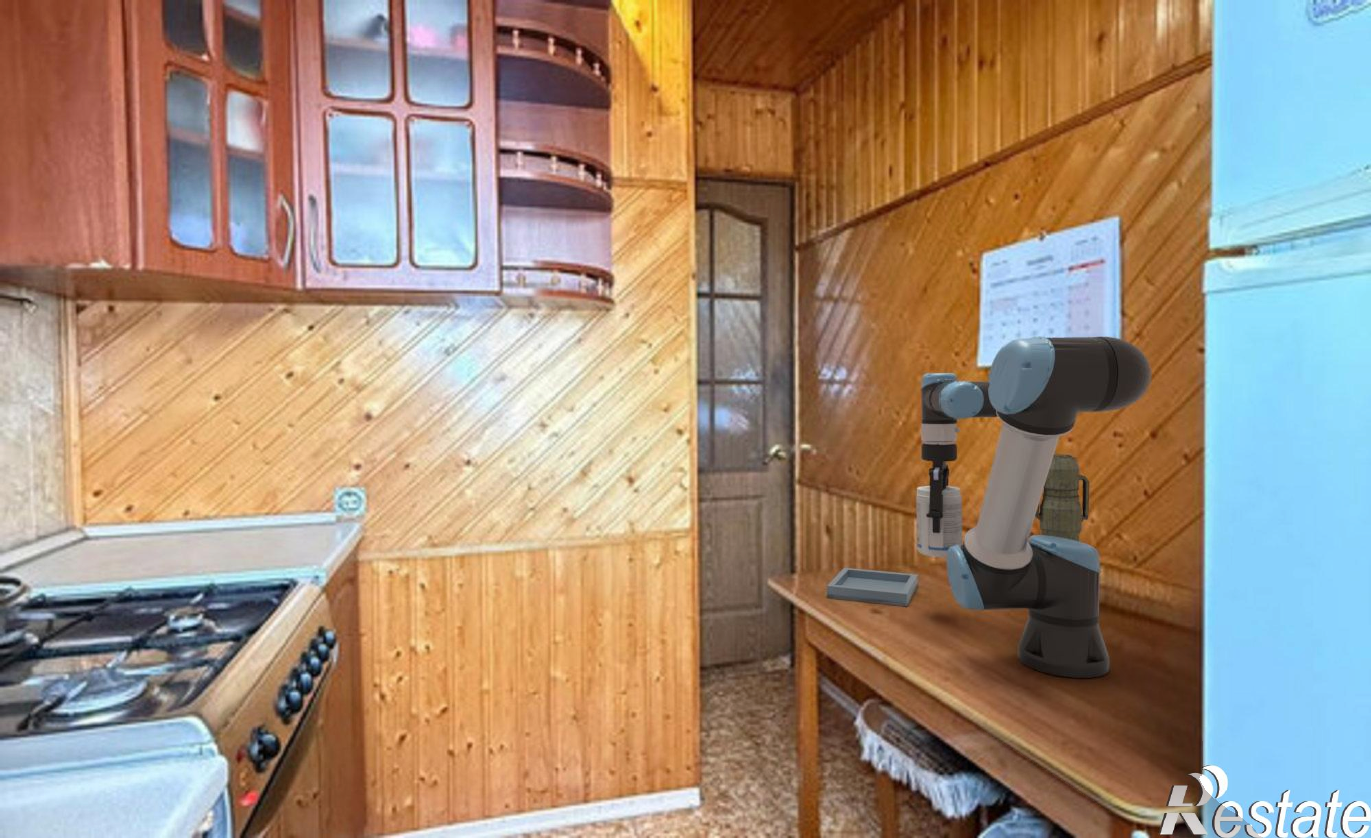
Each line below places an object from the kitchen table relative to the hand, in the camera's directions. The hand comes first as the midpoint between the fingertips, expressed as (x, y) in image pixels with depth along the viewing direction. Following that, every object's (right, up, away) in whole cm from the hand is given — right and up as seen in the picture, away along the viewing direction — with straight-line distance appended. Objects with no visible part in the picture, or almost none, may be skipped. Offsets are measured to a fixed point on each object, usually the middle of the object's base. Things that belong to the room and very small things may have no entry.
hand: (939, 542), depth 165 cm
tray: (-9, -16, +21) cm, 28 cm away
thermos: (+32, -16, +10) cm, 37 cm away
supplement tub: (0, -3, 0) cm, 3 cm away
